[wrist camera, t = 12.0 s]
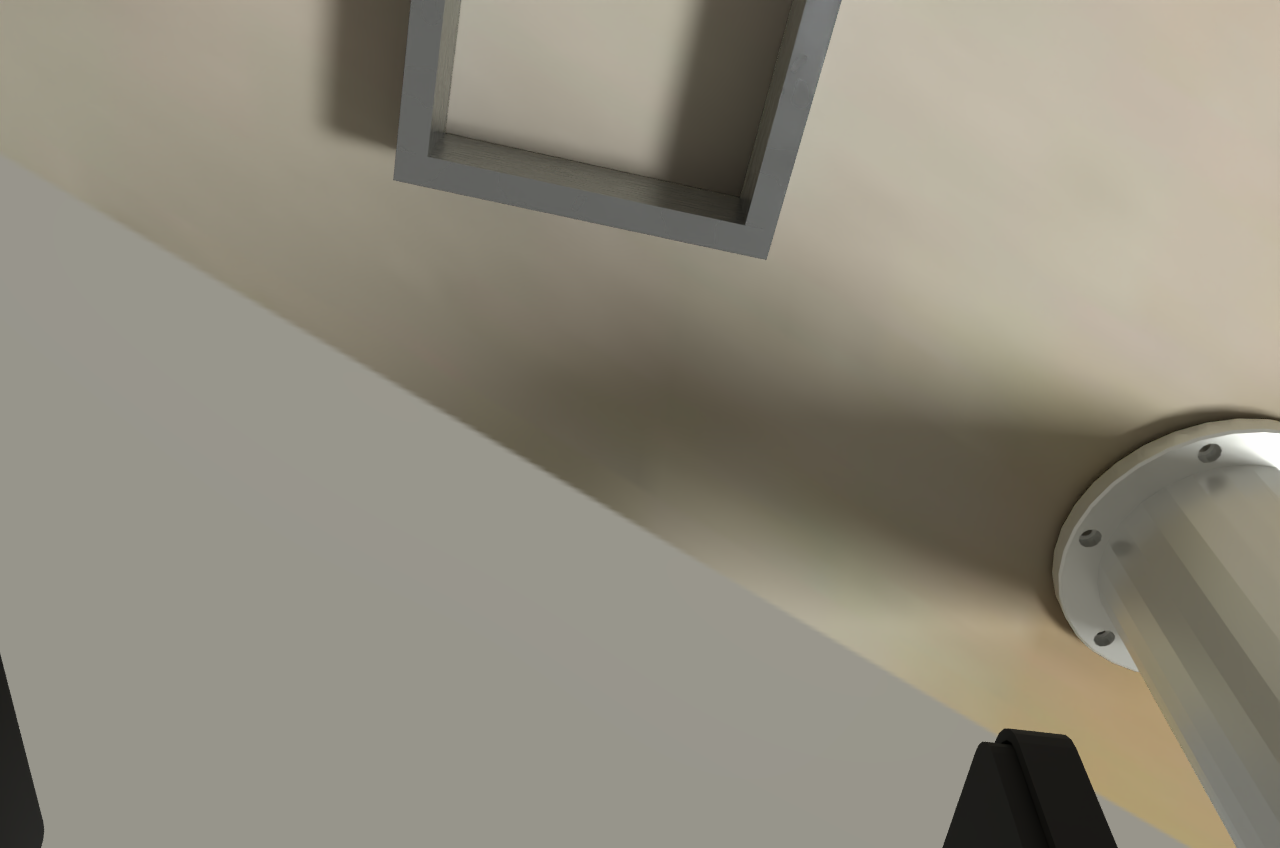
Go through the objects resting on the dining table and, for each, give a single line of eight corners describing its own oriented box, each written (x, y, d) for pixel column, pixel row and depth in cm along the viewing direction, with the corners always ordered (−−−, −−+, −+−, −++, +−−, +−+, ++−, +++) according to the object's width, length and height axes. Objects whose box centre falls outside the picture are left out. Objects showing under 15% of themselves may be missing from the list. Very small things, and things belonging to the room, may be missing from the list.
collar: (869, -160, 32) (887, -160, 29) (759, 230, 38) (766, 259, 35) (457, -263, 30) (437, -272, 28) (413, 155, 37) (393, 179, 34)
